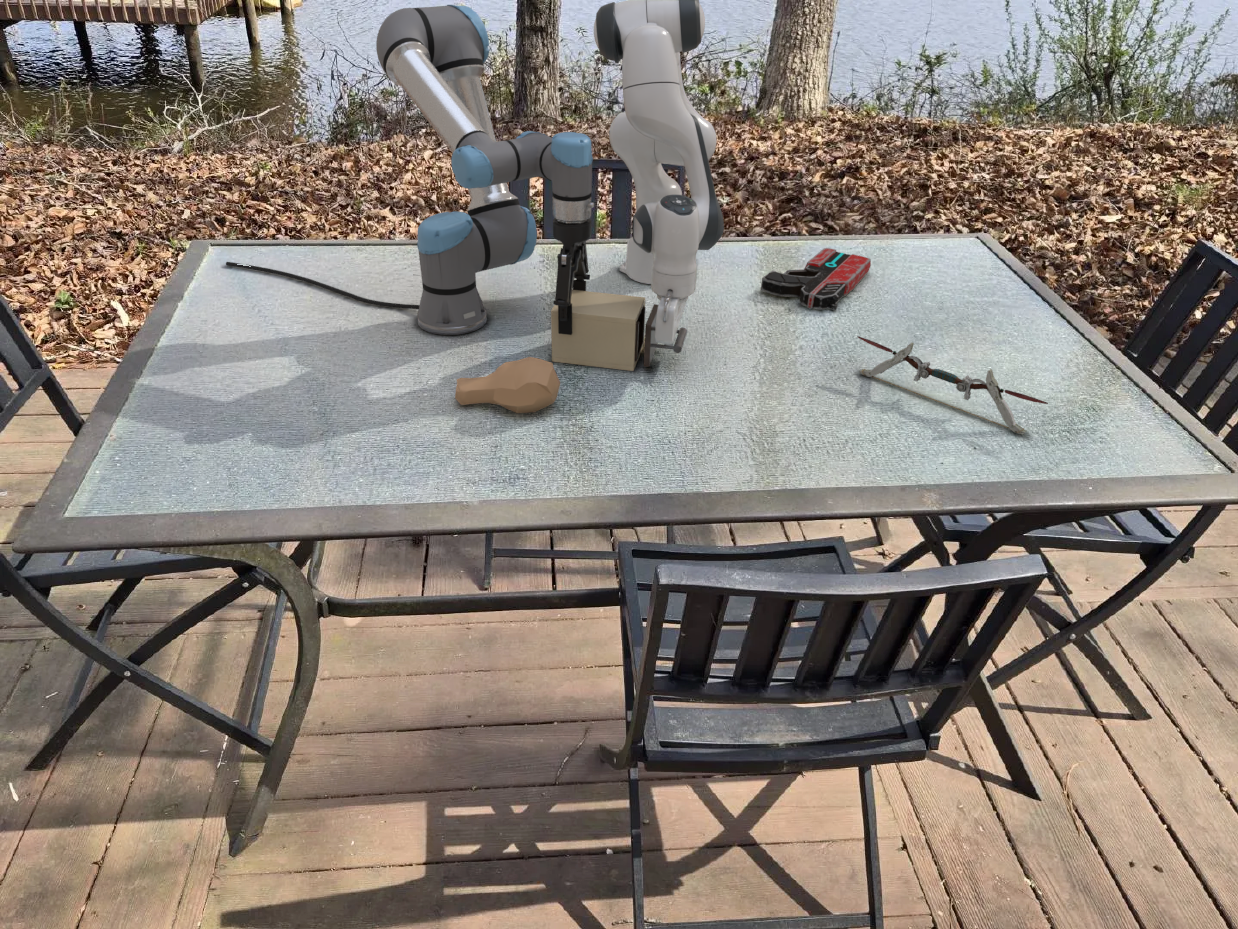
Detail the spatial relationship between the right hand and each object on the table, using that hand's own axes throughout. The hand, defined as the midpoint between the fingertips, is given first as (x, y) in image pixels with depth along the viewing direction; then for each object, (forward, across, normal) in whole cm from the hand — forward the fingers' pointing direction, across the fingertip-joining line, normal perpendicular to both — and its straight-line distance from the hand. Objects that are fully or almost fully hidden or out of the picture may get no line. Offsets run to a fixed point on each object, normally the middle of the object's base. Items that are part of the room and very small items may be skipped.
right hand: (669, 344), depth 181 cm
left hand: (-3, 0, +21) cm, 21 cm away
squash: (+4, -25, +27) cm, 37 cm away
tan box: (+4, 0, +15) cm, 16 cm away
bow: (+4, -4, -54) cm, 54 cm away
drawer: (+3, 0, +8) cm, 9 cm away
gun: (+4, +51, -30) cm, 59 cm away
